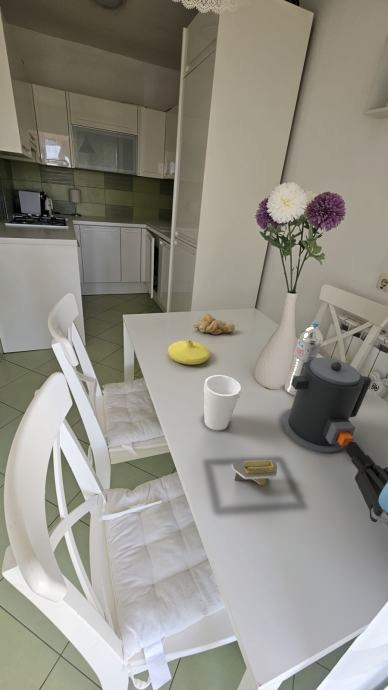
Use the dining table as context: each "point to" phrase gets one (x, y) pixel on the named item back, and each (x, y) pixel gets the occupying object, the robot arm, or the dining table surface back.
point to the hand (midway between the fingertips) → (350, 446)
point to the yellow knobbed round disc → (188, 352)
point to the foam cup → (220, 400)
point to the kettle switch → (344, 438)
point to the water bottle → (304, 353)
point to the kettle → (324, 403)
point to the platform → (255, 470)
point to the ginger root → (213, 325)
